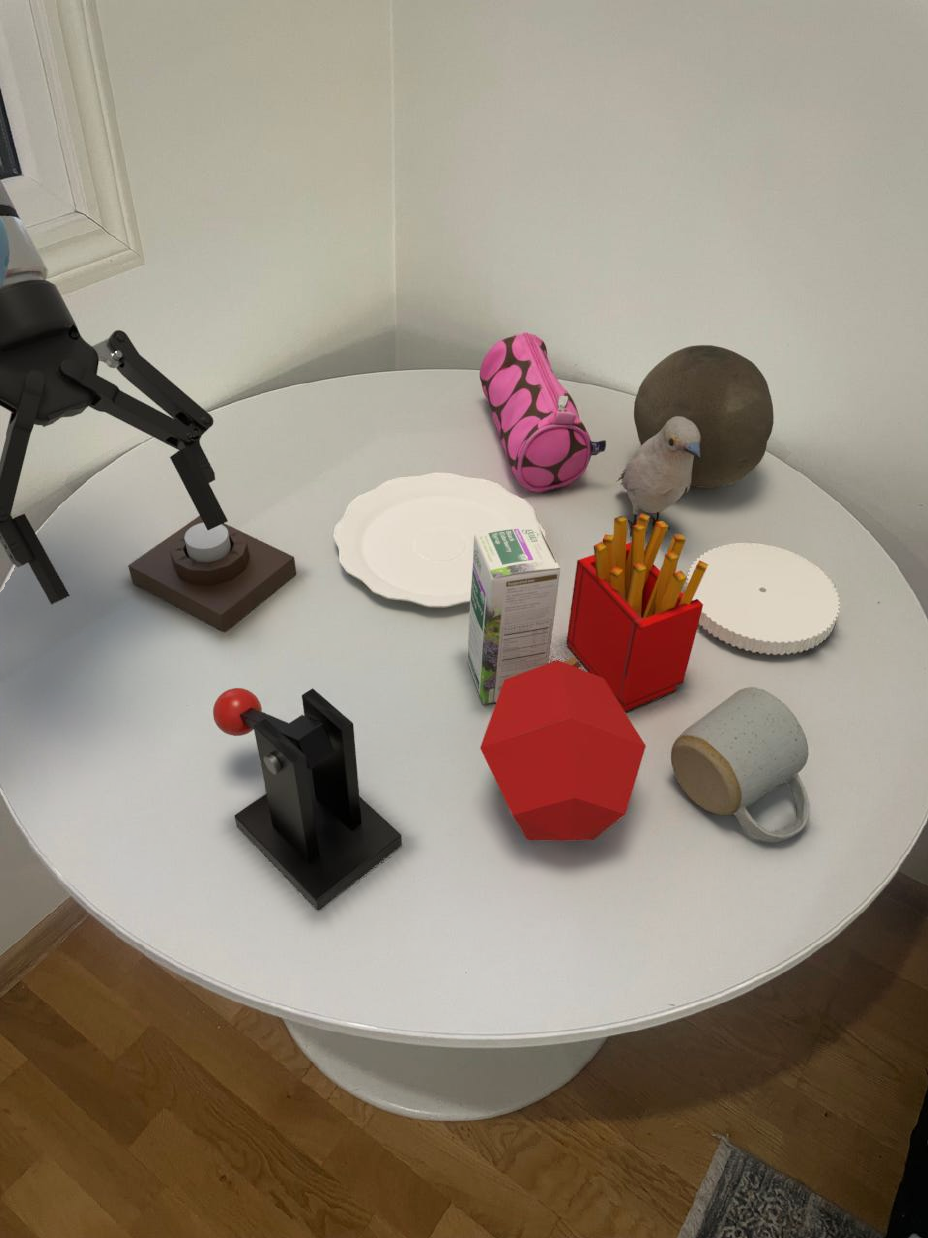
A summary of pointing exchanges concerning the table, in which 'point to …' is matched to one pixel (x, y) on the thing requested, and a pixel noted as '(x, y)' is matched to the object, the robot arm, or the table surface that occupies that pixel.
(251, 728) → the power lever
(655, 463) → the bird
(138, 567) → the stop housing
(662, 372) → the brown round ball
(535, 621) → the syrup box
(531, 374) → the pencil case
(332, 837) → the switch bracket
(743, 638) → the plastic lid
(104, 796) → the table surface
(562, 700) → the red faceted polyhedron
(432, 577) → the plate
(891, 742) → the table surface
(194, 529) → the stop button
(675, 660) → the french fries container
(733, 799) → the ceramic mug
